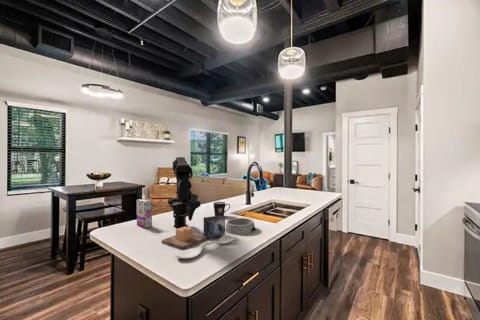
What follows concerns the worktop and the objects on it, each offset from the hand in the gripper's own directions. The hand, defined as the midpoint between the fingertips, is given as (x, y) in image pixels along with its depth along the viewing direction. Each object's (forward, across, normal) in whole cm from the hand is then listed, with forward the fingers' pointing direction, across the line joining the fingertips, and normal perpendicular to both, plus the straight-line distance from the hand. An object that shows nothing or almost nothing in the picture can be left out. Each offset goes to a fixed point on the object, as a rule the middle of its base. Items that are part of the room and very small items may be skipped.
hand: (184, 219), depth 121 cm
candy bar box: (+12, +42, -4) cm, 44 cm away
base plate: (+12, 0, 0) cm, 12 cm away
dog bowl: (+12, -13, -31) cm, 36 cm away
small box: (+12, -8, -14) cm, 20 cm away
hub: (+10, 0, 0) cm, 10 cm away
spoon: (+12, -17, +1) cm, 21 cm away
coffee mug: (+12, +16, -48) cm, 52 cm away
